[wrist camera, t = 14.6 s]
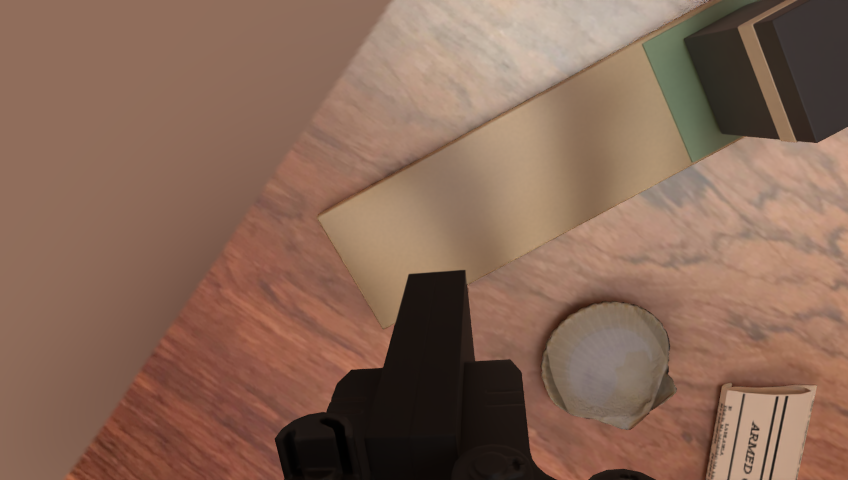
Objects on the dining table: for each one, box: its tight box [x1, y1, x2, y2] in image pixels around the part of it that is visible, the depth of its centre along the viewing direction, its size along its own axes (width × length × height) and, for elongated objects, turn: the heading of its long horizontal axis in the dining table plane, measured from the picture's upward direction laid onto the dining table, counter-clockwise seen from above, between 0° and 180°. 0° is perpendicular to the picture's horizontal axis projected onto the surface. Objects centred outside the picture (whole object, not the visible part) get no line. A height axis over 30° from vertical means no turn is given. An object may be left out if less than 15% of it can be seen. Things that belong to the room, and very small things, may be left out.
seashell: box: [541, 301, 677, 430], centre depth 38 cm, size 8×3×8 cm
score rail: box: [317, 0, 761, 329], centre depth 35 cm, size 30×8×4 cm, turn 118°
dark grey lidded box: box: [684, 0, 848, 143], centre depth 31 cm, size 4×6×8 cm
